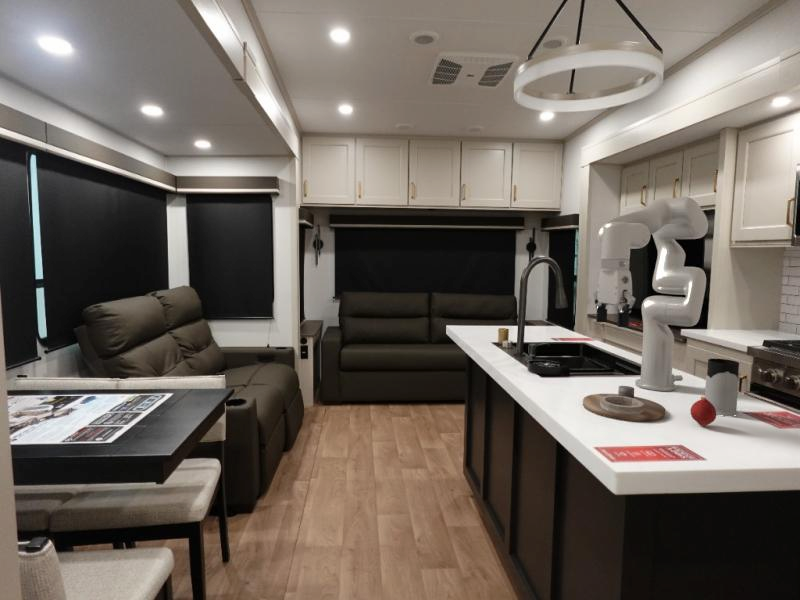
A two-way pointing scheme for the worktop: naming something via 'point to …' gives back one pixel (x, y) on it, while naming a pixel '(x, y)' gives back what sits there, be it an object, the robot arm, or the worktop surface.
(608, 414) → the carrier plate
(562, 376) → the worktop surface
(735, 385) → the glass holder
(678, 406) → the worktop surface
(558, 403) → the worktop surface
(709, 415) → the red rounded piece
